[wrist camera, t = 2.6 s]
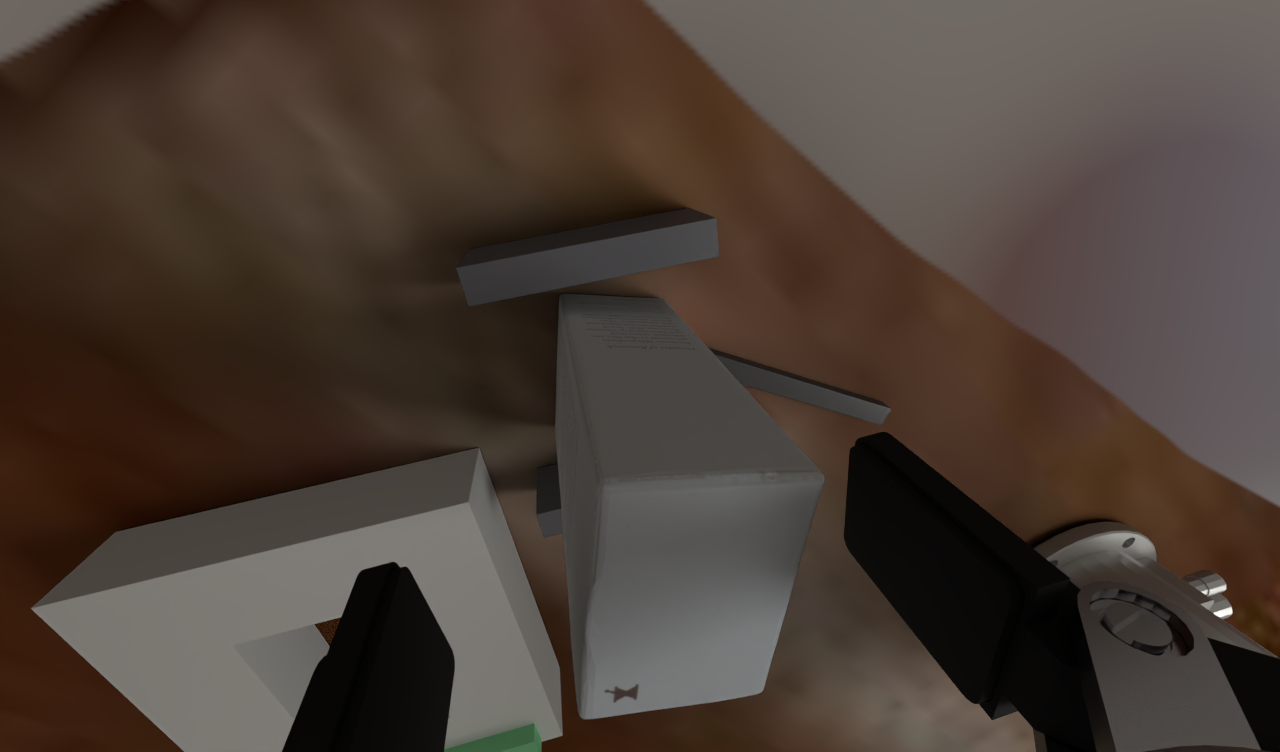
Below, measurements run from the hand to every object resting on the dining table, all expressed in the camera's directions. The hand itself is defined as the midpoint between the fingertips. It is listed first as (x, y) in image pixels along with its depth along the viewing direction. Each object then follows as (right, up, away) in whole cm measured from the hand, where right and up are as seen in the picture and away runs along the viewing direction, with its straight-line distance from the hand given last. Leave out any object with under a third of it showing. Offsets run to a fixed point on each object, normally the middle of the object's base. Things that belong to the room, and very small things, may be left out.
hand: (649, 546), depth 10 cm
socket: (-13, -8, +13) cm, 19 cm away
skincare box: (-2, +4, +10) cm, 11 cm away
